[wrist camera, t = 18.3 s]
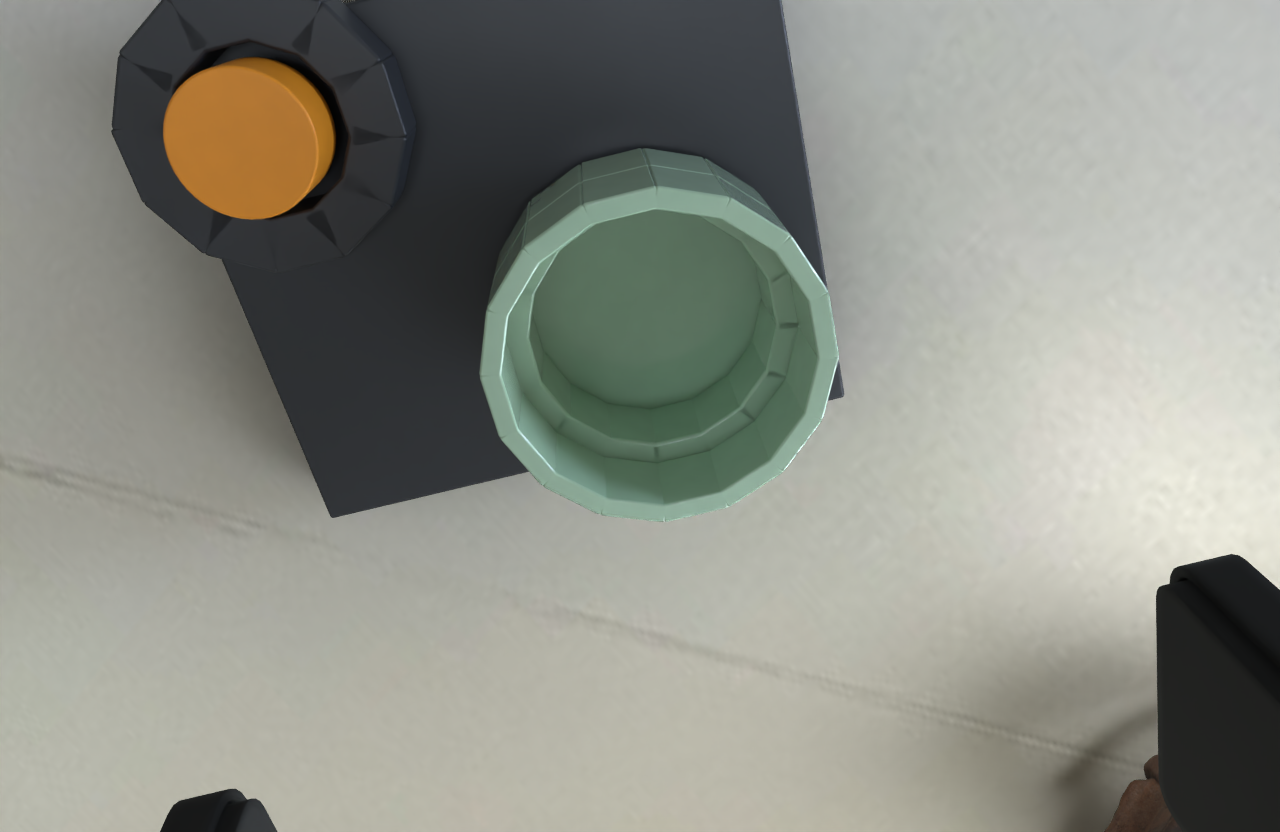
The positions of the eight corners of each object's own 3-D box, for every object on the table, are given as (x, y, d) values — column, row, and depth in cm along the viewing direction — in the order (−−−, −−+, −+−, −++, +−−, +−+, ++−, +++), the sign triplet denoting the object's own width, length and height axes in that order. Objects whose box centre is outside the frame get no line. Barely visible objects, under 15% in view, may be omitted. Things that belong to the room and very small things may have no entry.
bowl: (541, 458, 27) (536, 553, 23) (458, 188, 24) (434, 240, 20) (813, 394, 26) (858, 478, 22) (763, 112, 23) (806, 148, 19)
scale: (325, 497, 28) (300, 556, 26) (121, 12, 23) (61, 21, 20) (833, 377, 28) (861, 423, 25) (746, -150, 22) (771, -163, 20)
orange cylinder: (225, 215, 22) (199, 235, 21) (168, 76, 21) (135, 86, 20) (356, 182, 22) (340, 200, 21) (306, 40, 21) (285, 48, 19)
